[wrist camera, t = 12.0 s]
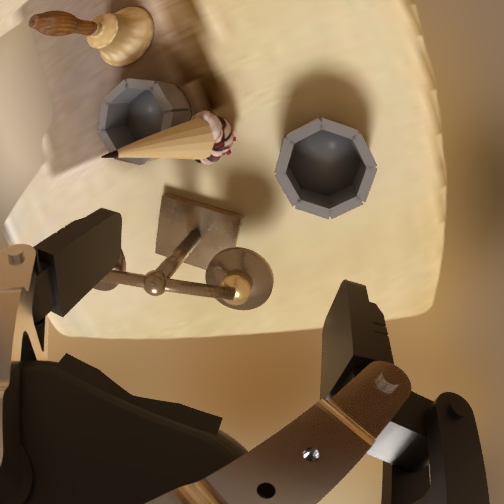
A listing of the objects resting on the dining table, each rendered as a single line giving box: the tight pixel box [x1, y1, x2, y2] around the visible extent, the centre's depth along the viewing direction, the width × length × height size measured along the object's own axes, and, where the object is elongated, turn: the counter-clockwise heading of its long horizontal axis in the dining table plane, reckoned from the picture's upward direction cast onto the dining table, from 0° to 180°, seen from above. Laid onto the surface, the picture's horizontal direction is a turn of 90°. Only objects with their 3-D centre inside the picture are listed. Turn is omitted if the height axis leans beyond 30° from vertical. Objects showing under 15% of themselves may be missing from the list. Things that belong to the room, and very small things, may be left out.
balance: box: [93, 193, 274, 310], centre depth 33 cm, size 8×21×15 cm, turn 76°
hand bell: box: [29, 7, 154, 67], centre depth 23 cm, size 8×8×16 cm
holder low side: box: [275, 117, 377, 219], centre depth 31 cm, size 9×9×6 cm
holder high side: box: [98, 78, 191, 165], centre depth 32 cm, size 9×9×6 cm
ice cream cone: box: [102, 111, 236, 164], centre depth 29 cm, size 6×6×15 cm
